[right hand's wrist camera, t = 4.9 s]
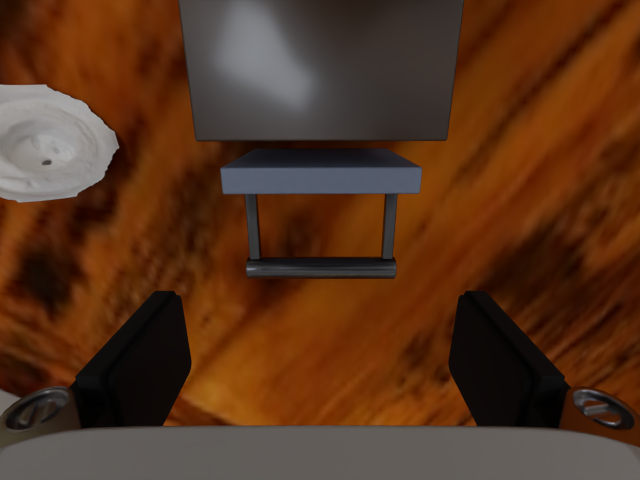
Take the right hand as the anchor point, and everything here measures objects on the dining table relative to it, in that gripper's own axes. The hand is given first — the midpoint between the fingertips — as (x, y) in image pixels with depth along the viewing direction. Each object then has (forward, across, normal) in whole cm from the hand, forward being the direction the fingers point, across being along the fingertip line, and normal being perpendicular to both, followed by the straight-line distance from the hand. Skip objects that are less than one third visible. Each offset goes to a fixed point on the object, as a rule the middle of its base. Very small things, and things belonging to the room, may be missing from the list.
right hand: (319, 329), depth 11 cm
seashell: (+15, +18, -5) cm, 24 cm away
